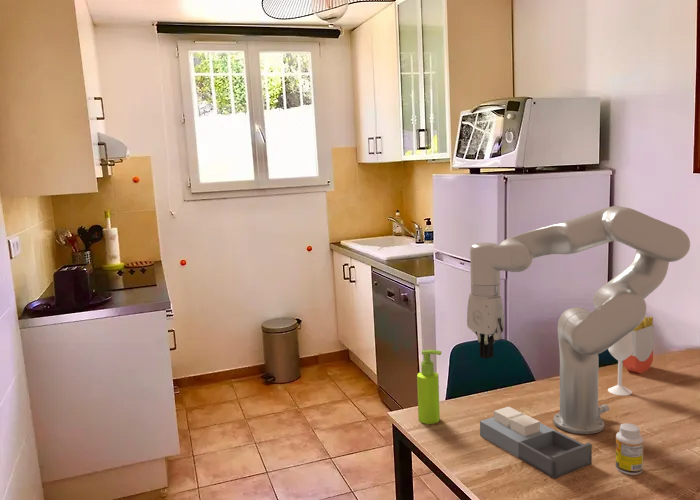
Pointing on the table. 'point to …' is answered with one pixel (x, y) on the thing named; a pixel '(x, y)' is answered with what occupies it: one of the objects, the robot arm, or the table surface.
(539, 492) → the table surface
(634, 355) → the french fries container
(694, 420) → the table surface
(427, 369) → the soap dispenser
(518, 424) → the front tile
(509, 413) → the rear tile
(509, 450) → the grey box sleeve
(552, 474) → the box
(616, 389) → the champagne flute
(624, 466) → the supplement bottle
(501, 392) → the table surface
